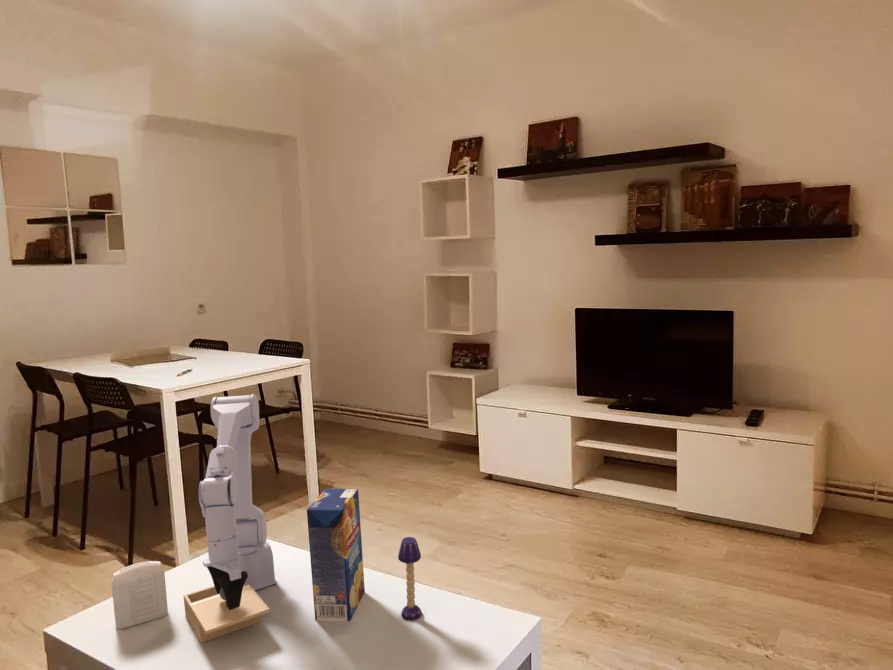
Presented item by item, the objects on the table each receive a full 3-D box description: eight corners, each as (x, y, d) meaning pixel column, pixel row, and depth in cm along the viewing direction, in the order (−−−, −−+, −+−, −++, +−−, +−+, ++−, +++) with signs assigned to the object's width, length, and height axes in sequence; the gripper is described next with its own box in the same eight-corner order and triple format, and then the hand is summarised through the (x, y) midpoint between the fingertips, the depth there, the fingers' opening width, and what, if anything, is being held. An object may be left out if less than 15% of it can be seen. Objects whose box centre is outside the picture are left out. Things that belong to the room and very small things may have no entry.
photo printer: (166, 607, 147) (160, 553, 146) (170, 615, 144) (164, 560, 142) (114, 623, 142) (107, 567, 140) (117, 632, 138) (110, 575, 137)
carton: (241, 598, 150) (239, 577, 149) (260, 621, 140) (258, 599, 139) (185, 616, 143) (183, 595, 142) (200, 643, 133) (198, 619, 132)
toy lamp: (427, 611, 141) (423, 535, 139) (418, 623, 136) (414, 545, 134) (406, 608, 143) (402, 533, 140) (396, 619, 138) (392, 542, 136)
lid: (249, 587, 144) (247, 564, 144) (269, 611, 134) (267, 587, 133) (189, 606, 137) (187, 583, 137) (206, 634, 127) (203, 608, 127)
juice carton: (350, 622, 138) (342, 510, 135) (315, 620, 139) (306, 510, 136) (364, 592, 150) (358, 488, 147) (332, 591, 151) (325, 488, 148)
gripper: (191, 529, 137) (198, 591, 139) (211, 554, 125) (218, 622, 127) (226, 520, 141) (232, 580, 143) (249, 543, 129) (255, 609, 131)
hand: (228, 599), depth 136 cm, fingers open, 7 cm apart
